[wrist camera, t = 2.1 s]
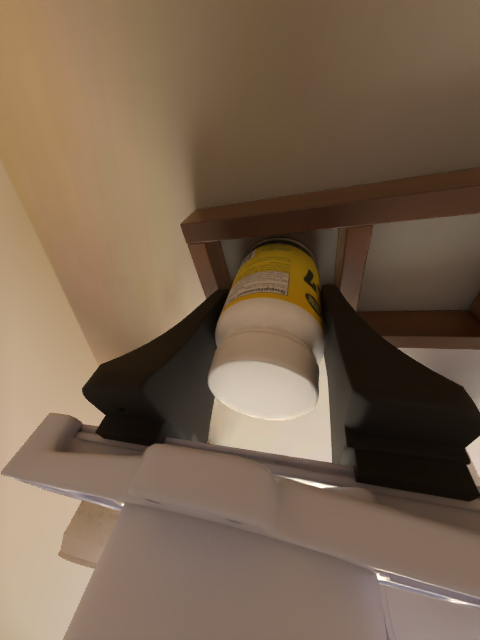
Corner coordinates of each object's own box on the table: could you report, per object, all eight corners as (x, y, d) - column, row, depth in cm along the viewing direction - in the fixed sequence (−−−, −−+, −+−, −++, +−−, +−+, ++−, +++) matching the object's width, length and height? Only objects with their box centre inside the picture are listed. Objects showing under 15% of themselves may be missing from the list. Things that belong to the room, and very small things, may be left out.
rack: (481, 322, 14) (504, 350, 12) (228, 322, 18) (221, 343, 16) (599, 149, 8) (669, 159, 7) (195, 209, 13) (179, 224, 11)
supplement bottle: (319, 300, 15) (330, 431, 9) (250, 305, 16) (219, 420, 10) (317, 227, 12) (331, 351, 6) (232, 241, 13) (174, 351, 7)
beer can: (140, 378, 27) (36, 551, 17) (188, 388, 27) (112, 576, 16) (152, 401, 32) (75, 552, 21) (194, 411, 31) (136, 572, 20)
